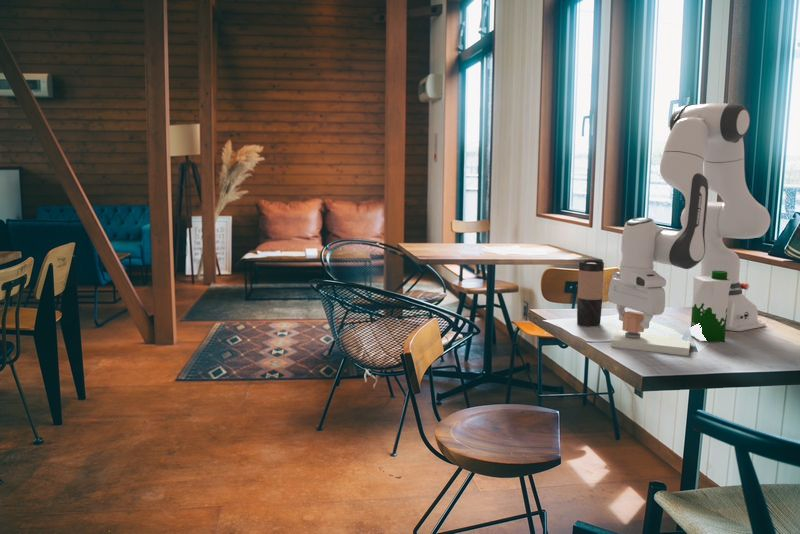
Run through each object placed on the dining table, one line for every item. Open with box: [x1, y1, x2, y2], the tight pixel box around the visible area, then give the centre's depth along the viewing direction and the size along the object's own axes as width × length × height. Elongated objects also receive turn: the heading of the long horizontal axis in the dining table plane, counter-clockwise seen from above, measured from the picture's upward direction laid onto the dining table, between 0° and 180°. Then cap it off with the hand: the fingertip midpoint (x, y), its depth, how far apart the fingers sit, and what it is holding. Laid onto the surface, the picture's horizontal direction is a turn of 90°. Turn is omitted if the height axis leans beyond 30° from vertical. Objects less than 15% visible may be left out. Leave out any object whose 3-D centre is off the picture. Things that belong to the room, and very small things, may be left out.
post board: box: [610, 330, 691, 356], centre depth 190 cm, size 20×12×8 cm, turn 65°
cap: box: [621, 310, 645, 333], centre depth 192 cm, size 6×6×5 cm
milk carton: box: [690, 271, 731, 343], centre depth 197 cm, size 9×9×20 cm
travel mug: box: [576, 260, 605, 327], centre depth 215 cm, size 8×8×20 cm
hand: (633, 324), depth 192 cm, fingers open, 8 cm apart
